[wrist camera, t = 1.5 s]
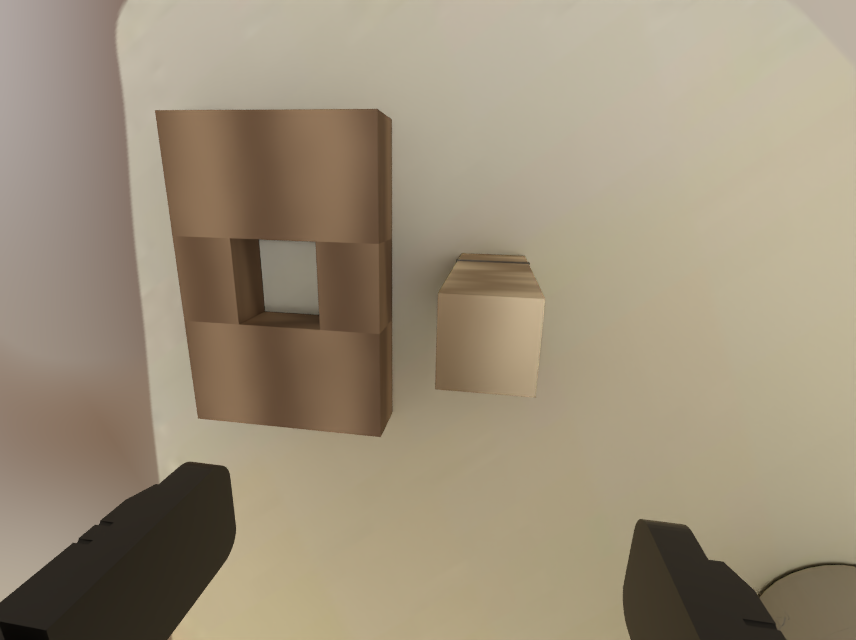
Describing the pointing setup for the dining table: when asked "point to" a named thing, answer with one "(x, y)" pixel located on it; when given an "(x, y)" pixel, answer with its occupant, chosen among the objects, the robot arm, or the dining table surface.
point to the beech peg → (489, 326)
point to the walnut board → (295, 221)
